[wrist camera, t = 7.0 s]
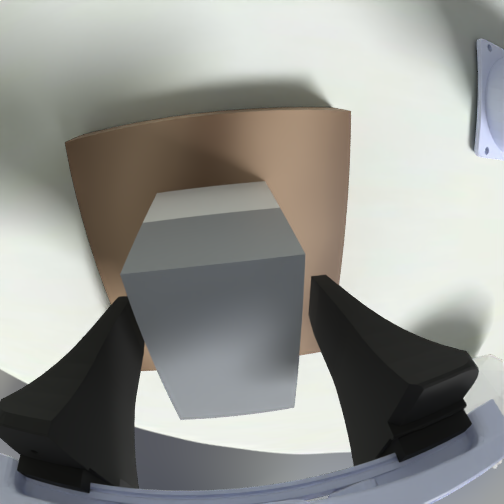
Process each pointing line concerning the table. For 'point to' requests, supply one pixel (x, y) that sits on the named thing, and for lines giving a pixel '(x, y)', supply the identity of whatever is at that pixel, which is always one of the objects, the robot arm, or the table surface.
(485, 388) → the geodesic sphere
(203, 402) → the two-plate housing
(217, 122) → the walnut stand
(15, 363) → the table surface
